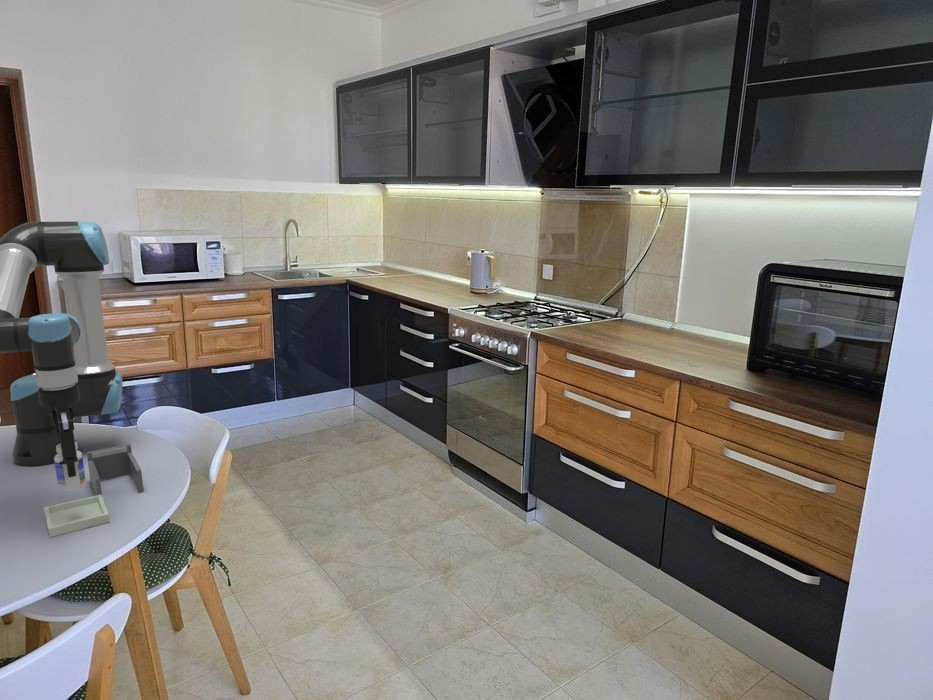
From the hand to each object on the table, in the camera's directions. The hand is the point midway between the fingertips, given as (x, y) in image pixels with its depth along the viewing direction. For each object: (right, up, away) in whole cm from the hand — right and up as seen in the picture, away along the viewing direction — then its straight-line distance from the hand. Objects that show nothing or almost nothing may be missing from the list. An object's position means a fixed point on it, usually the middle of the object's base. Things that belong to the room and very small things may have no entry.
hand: (72, 483), depth 144 cm
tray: (0, -9, +2) cm, 9 cm away
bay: (0, -5, +18) cm, 19 cm away
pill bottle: (0, -1, 0) cm, 1 cm away
